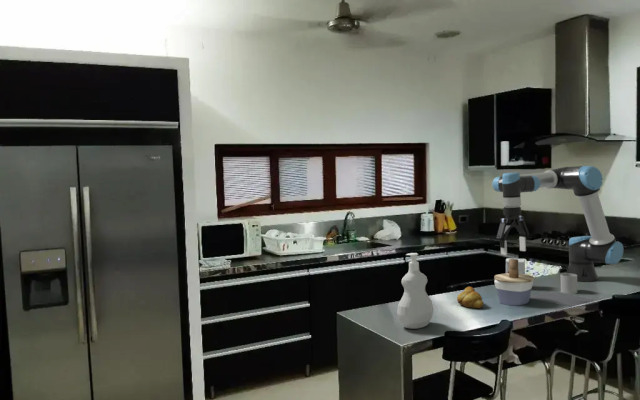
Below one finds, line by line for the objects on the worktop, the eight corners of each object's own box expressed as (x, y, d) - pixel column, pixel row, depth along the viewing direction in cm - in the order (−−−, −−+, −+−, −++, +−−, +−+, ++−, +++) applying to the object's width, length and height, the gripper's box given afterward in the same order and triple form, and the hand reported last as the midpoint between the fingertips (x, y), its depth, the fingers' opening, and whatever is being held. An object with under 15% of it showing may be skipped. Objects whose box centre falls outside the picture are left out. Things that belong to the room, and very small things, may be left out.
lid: (509, 273, 236) (509, 255, 235) (542, 278, 222) (541, 259, 221) (486, 278, 227) (485, 259, 226) (518, 284, 212) (518, 264, 212)
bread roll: (488, 308, 217) (488, 290, 217) (469, 311, 214) (469, 293, 214) (471, 301, 229) (471, 285, 229) (453, 304, 227) (453, 287, 226)
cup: (557, 293, 238) (557, 274, 238) (568, 289, 244) (568, 271, 244) (572, 295, 232) (572, 277, 232) (583, 292, 238) (583, 273, 238)
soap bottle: (419, 318, 206) (417, 249, 205) (441, 324, 197) (438, 252, 196) (390, 327, 197) (388, 254, 195) (411, 334, 187) (409, 257, 186)
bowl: (505, 296, 236) (504, 274, 235) (537, 301, 225) (537, 277, 224) (490, 303, 225) (489, 279, 224) (524, 309, 214) (523, 283, 213)
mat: (548, 292, 240) (548, 291, 240) (593, 300, 222) (593, 299, 222) (525, 298, 231) (525, 297, 231) (570, 308, 212) (570, 306, 212)
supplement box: (506, 290, 248) (505, 261, 247) (506, 286, 256) (505, 258, 256) (525, 291, 245) (524, 261, 244) (525, 287, 253) (524, 258, 252)
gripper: (521, 204, 232) (523, 248, 234) (487, 208, 219) (488, 255, 220) (536, 204, 226) (537, 250, 227) (501, 209, 213) (502, 257, 214)
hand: (513, 252), depth 224 cm, fingers open, 13 cm apart
